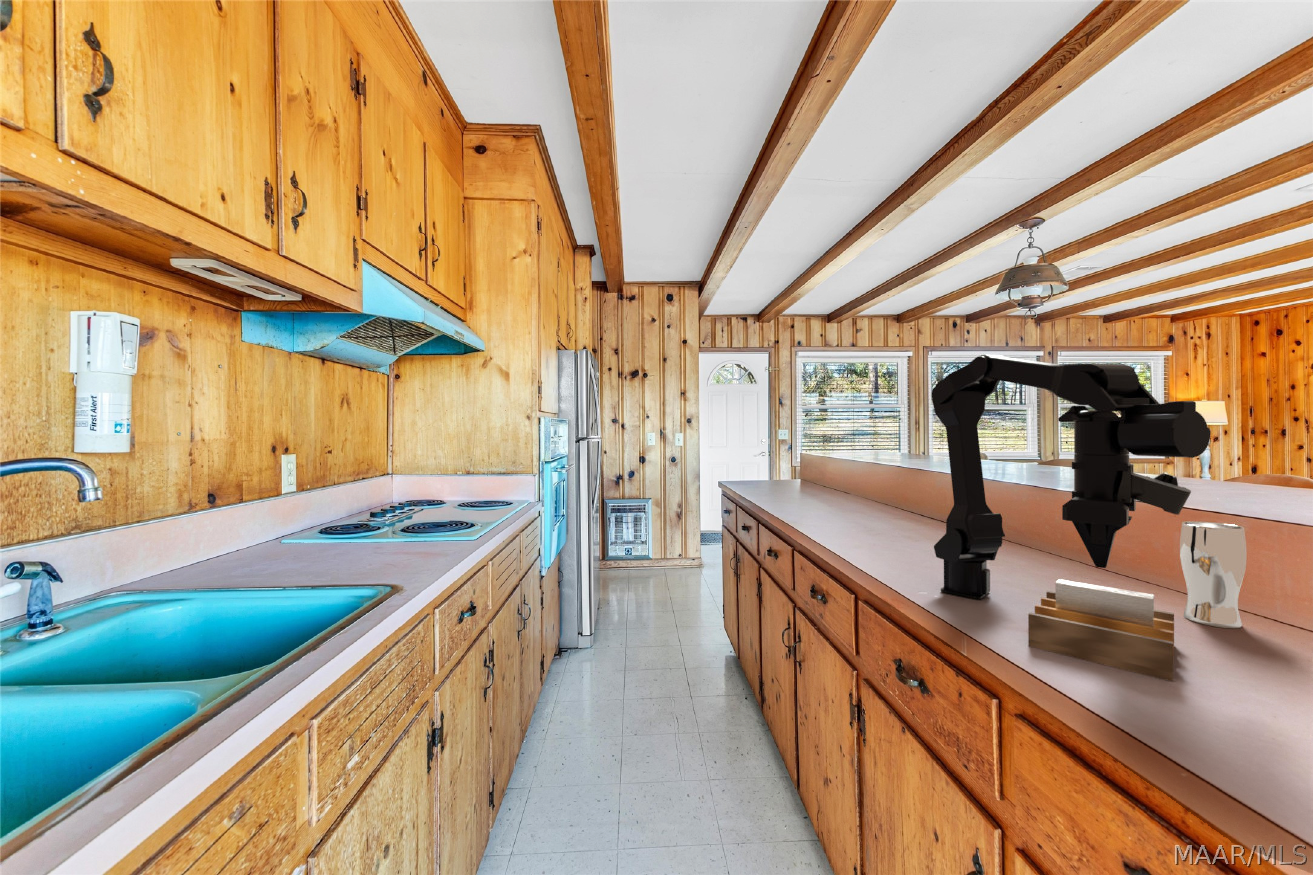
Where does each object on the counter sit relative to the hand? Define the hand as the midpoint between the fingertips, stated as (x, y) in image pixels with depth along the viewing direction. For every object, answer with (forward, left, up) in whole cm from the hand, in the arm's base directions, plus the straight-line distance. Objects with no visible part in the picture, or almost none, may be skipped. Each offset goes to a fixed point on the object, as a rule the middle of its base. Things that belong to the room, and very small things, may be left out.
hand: (1101, 567), depth 70 cm
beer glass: (+11, +24, -11) cm, 28 cm away
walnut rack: (0, 0, -11) cm, 11 cm away
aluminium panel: (0, 0, -10) cm, 10 cm away
